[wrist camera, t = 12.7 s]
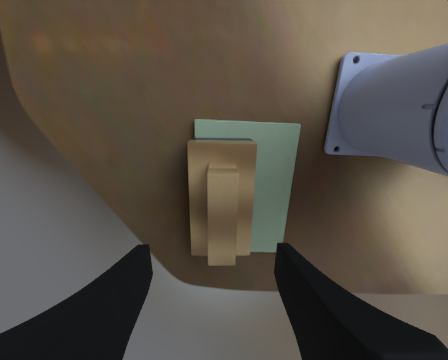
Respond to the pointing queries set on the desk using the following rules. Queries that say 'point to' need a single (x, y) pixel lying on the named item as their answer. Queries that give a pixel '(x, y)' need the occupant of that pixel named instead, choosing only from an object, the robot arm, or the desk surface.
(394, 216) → the desk surface
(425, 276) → the desk surface
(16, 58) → the desk surface
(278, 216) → the pad
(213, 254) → the brush
